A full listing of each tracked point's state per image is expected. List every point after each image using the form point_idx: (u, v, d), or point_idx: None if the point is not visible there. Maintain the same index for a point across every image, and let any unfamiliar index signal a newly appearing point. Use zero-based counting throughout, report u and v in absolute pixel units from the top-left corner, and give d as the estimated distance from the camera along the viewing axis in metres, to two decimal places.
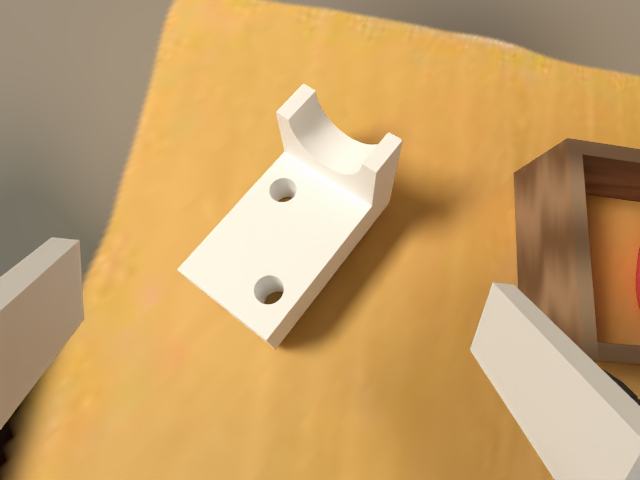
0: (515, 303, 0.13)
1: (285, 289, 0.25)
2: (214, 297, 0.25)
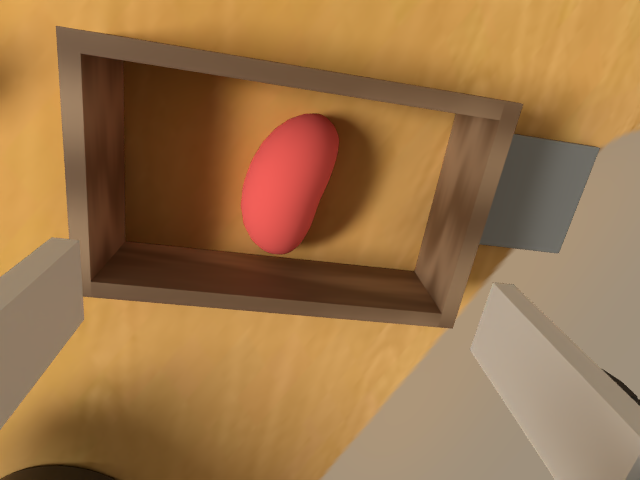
0: (515, 303, 0.13)
1: None
2: None
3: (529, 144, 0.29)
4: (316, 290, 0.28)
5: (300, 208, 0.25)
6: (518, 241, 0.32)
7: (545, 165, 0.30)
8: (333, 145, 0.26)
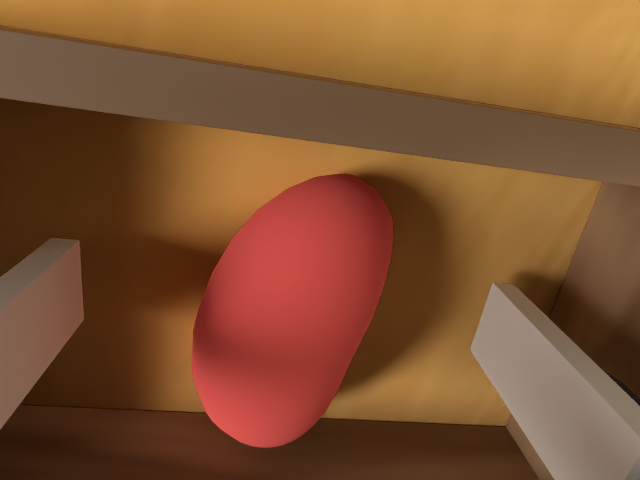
0: (515, 303, 0.13)
1: None
2: None
3: None
4: None
5: (316, 388, 0.12)
6: None
7: None
8: (386, 246, 0.12)
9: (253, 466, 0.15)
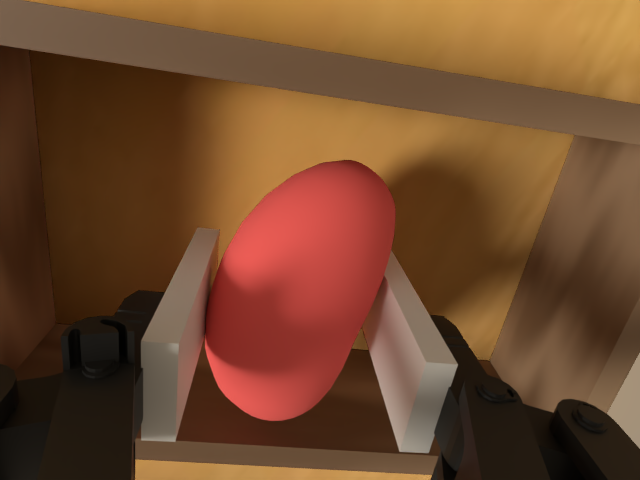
0: None
1: None
2: None
3: None
4: (349, 419, 0.17)
5: (322, 363, 0.12)
6: None
7: None
8: (388, 229, 0.12)
9: None
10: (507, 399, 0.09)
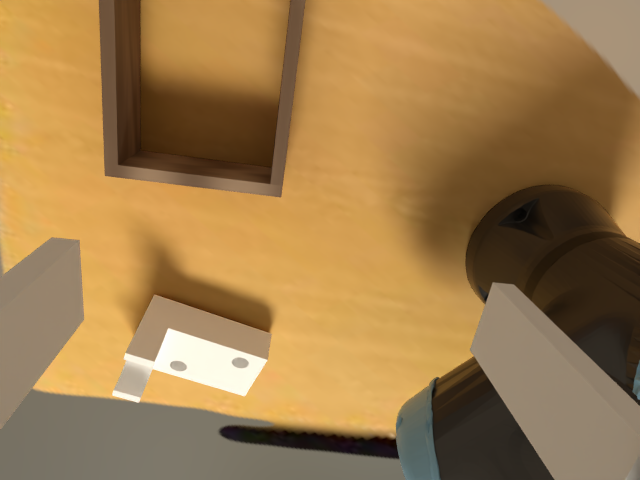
0: (515, 303, 0.13)
1: (237, 356, 0.44)
2: (253, 381, 0.47)
3: None
4: None
5: None
6: None
7: None
8: None
9: None
10: None
